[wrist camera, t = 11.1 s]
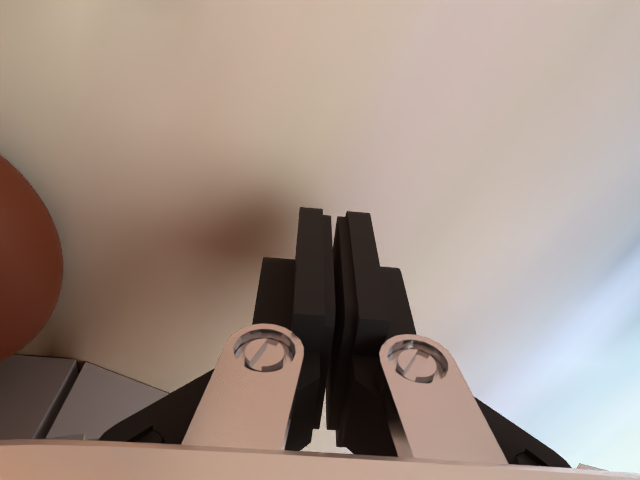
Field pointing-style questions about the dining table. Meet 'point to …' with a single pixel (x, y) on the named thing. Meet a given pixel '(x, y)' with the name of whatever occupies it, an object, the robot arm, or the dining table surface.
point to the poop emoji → (25, 262)
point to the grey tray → (65, 398)
